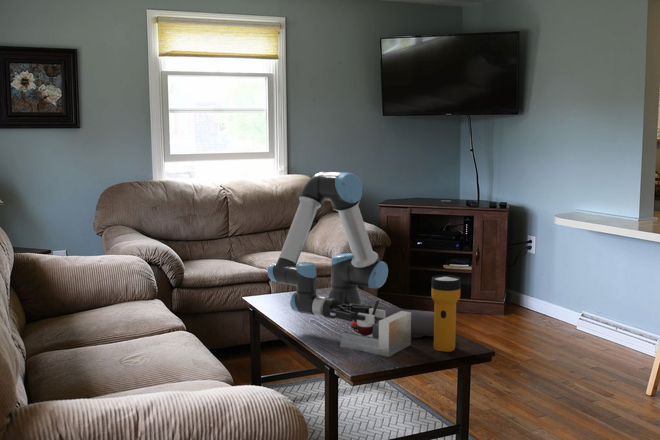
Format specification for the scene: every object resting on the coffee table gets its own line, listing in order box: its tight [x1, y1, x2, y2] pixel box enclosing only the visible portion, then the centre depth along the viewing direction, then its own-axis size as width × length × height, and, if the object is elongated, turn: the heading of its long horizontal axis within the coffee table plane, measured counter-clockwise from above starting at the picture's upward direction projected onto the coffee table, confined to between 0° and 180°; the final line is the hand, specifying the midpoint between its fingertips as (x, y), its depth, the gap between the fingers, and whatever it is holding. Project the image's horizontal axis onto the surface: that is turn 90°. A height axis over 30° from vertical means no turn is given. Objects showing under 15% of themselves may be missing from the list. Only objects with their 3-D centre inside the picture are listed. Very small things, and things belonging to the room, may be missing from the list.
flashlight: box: [430, 274, 462, 353], centre depth 241 cm, size 10×26×10 cm
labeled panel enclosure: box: [339, 311, 412, 358], centre depth 245 cm, size 16×20×12 cm
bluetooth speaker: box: [376, 308, 434, 338], centre depth 257 cm, size 23×9×10 cm, turn 78°
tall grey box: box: [373, 321, 379, 339], centre depth 245 cm, size 4×3×6 cm
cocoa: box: [353, 299, 380, 336], centre depth 246 cm, size 10×6×12 cm, turn 89°
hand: (379, 316), depth 243 cm, fingers closed on cocoa, 7 cm apart
